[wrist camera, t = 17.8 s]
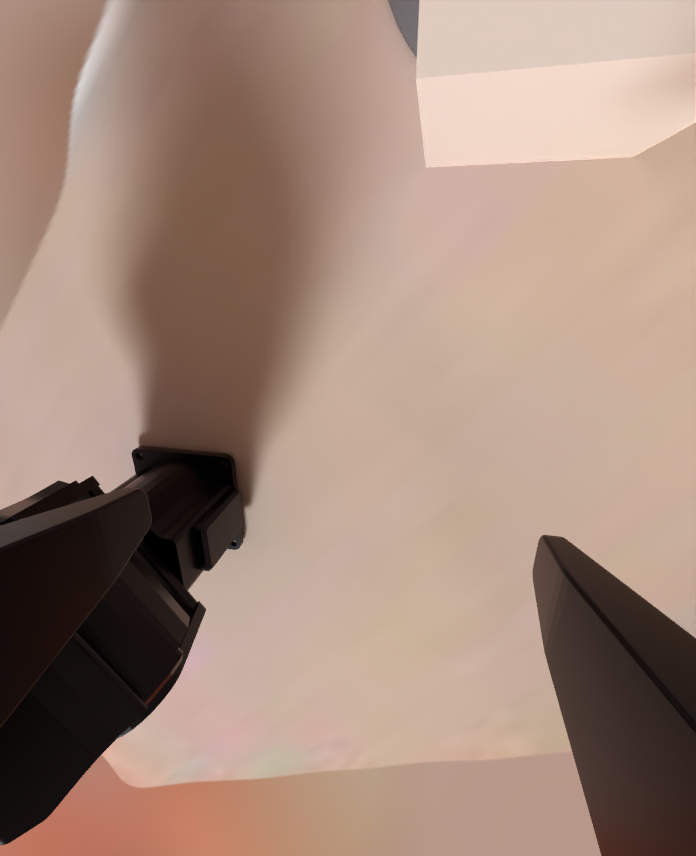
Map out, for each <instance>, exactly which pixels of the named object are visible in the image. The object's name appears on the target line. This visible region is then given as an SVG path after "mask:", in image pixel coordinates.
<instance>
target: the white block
mask: <svg viewBox="0 0 696 856" xmlns="http://www.w3.org/2000/svg"><path fill="white" fill-rule="evenodd" d="M416 84H417V93H418V102H419V111H420V119H421V128H422V137H423V146H424V155H425V164H426V168H430V167H450V166H469V165H489V164H509V163H529V162H549V161H569V160H589V159H609V158H629V157H634V156H636V155H638V154H639V153H641V152H643V151H645V150H647V149H648V148H650V147H652V146H654V145H656V144H657V143H659V142H661V141H663V140H665V139H666V138H668V137H670V136H672V135H674V134H675V133H677V132H679V131H681V130H683V129H684V128H686V127H688V126H690V125H692V124H693V123H695V122H696V0H419V21H418V43H417V65H416Z"/></svg>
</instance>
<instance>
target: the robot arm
mask: <svg viewBox="0 0 696 856" xmlns="http://www.w3.org/2000/svg"><path fill="white" fill-rule="evenodd" d="M140 453H141V454H142V455H143V457H142V456H141V454H140ZM132 458H133V463H134V467H135V472H136V475H134V476H133V477H132V478H130V479H129V480H127V481H126V482H124V483H123V484H121V485H120V486H119V487H117V488H116V489H114V490H113V491H111V492H110V493H106V494H105V493H104V492H103V491H102V490H101V489H100V487H99V485H100V484H99V483H98V482H97V480H96V479H95V478H94V477H93V476H91V477H90V478H88V479H86V480H84V481H83V482H81V483H78V482H77V481H74V482H72V483H70V484H68V483H65V482H62V481H57V482H55V483H54V484H52V485H50V486H48V487H47V488H45V489H43V490H41V491H40V492H38V493H36V494H34V495H32V496H30V497H29V498H27V499H25V500H22V501H20V502H18V503H16V504H13V505H11V506H9V507H6V508H4V509H2V510H0V845H5V844H8V843H10V842H11V841H13V840H15V839H16V838H18V837H19V836H21V835H22V834H24V833H26V832H27V831H29V830H30V829H32V828H33V827H35V826H36V825H38V824H40V823H41V822H42V821H44V820H45V819H47V817H48V816H49V815H50V814H51V813H52V812H53V811H54V809H55V808H56V807H57V806H58V805H59V804H60V802H61V801H62V800H63V799H64V797H65V796H66V795H67V794H68V793H69V791H70V790H71V789H72V788H73V787H74V785H75V784H76V783H77V782H78V780H79V779H80V778H81V777H82V775H84V773H85V772H86V771H87V770H88V769H89V768H90V767H91V765H92V764H93V763H94V762H95V761H96V760H97V758H98V757H99V756H100V755H101V754H102V753H103V752H104V751H105V750H106V749H107V748H108V747H109V746H110V745H111V744H112V743H113V742H114V741H115V740H116V739H117V738H119V737H121V736H123V735H125V734H126V733H128V732H129V731H131V730H133V729H134V728H135V727H136V726H137V725H139V724H140V723H141V722H142V721H143V720H144V719H145V718H146V717H147V716H148V715H150V714H151V713H152V712H153V711H154V710H155V708H156V707H157V706H158V705H159V704H160V703H161V702H162V700H163V699H164V698H165V697H166V695H167V694H168V693H169V691H170V690H171V689H172V687H173V686H174V684H175V683H176V681H177V679H178V678H179V676H180V674H181V671H182V669H183V667H184V664H185V662H186V659H187V657H188V654H189V652H190V649H191V647H192V644H193V642H194V639H195V637H196V634H197V632H198V629H199V626H200V624H201V621H202V619H203V616H204V614H205V611H206V609H205V607H204V606H203V605H202V604H201V603H200V602H197V601H196V600H195V599H194V598H193V596H192V595H191V594H190V593H189V592H188V590H189V588H190V587H191V586H192V584H193V583H194V582H195V581H196V579H197V578H198V577H199V575H200V574H201V573H202V571H203V570H205V571H209V570H211V569H212V568H213V567H214V566H215V564H216V563H217V562H218V560H219V559H220V558H221V556H222V555H223V553H224V552H225V551H226V549H234V550H236V549H239V548H240V546H241V545H242V543H243V533H242V528H243V526H244V522H243V513H242V504H241V495H240V491H239V490H238V489H237V480H236V471H235V462H234V459H233V458H232V457H231V456H230V455H228V454H220V453H210V452H199V451H189V450H178V449H167V448H157V447H146V446H139V447H138V448H136V449H134V450H133V452H132ZM223 461H225V462H226V463H227V465H228V466H227V465H225V464H224V463H223ZM233 540H235V541H236V542H237V543H236V542H234V541H233ZM533 583H534V589H535V595H536V602H537V608H538V614H539V621H540V627H541V633H542V639H543V645H544V651H545V655H546V659H547V663H548V666H549V670H550V674H551V677H552V681H553V684H554V688H555V691H556V695H557V699H558V702H559V706H560V709H561V713H562V716H563V720H564V724H565V727H566V731H567V734H568V738H569V741H570V745H571V749H572V752H573V756H574V759H575V763H576V766H577V770H578V774H579V777H580V781H581V784H582V788H583V791H584V795H585V798H586V802H587V805H588V809H589V813H590V816H591V820H592V823H593V827H594V830H595V834H596V838H597V841H598V845H599V848H600V852H601V855H602V856H696V638H695V637H693V636H692V635H691V634H689V633H688V632H687V631H685V630H684V629H683V628H682V627H680V626H679V625H678V624H676V623H675V622H674V621H672V620H671V619H670V618H668V617H667V616H666V615H665V614H663V613H662V612H661V611H659V610H658V609H657V608H655V607H654V606H653V605H651V604H650V603H649V602H648V601H646V600H645V599H644V598H642V597H641V596H640V595H638V594H637V593H636V592H634V591H633V590H632V589H631V588H629V587H628V586H627V585H625V584H624V583H623V582H621V581H620V580H619V579H617V578H616V577H615V576H614V575H612V574H611V573H610V572H608V571H607V570H606V569H604V568H603V567H602V566H600V565H599V564H598V563H597V562H595V561H594V560H593V559H591V558H590V557H589V556H587V555H586V554H585V553H583V552H582V551H581V550H580V549H578V548H577V547H576V546H574V545H573V544H572V543H570V542H569V541H568V540H566V539H565V538H563V537H559V536H550V535H543V536H541V537H540V539H539V542H538V547H537V551H536V556H535V561H534V566H533Z"/></svg>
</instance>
